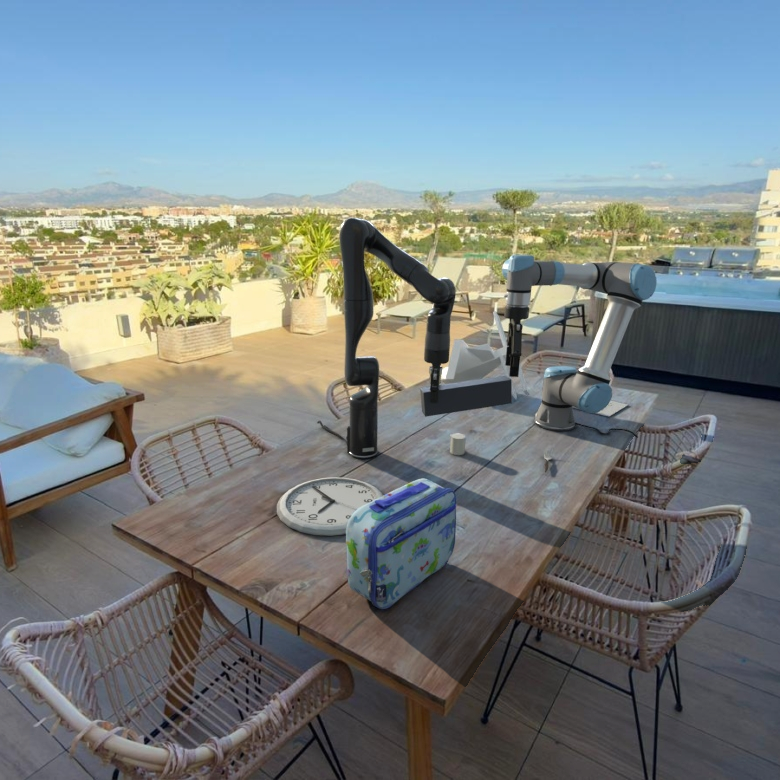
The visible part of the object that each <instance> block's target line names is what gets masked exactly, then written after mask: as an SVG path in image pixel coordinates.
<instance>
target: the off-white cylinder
mask: <svg viewBox="0 0 780 780" xmlns="http://www.w3.org/2000/svg"><path fill="white" fill-rule="evenodd" d="M466 437H467V436H466V434H463V433H459V432H455V433H452V434H450V442H449V443H450V444H449V445H450V446H449V453H450V454H451V455H453V456H463V455H464V454H465V453H466V439H467V438H466Z"/></svg>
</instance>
